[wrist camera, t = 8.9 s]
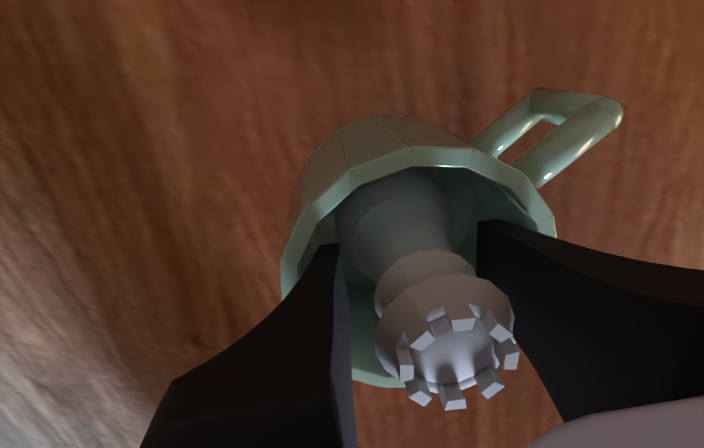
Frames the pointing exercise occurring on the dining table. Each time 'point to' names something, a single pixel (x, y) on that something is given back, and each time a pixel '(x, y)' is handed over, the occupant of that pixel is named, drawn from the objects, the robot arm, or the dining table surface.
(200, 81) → the dining table surface
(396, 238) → the rook chess piece
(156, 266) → the dining table surface
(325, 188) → the pale green mug
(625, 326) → the robot arm
